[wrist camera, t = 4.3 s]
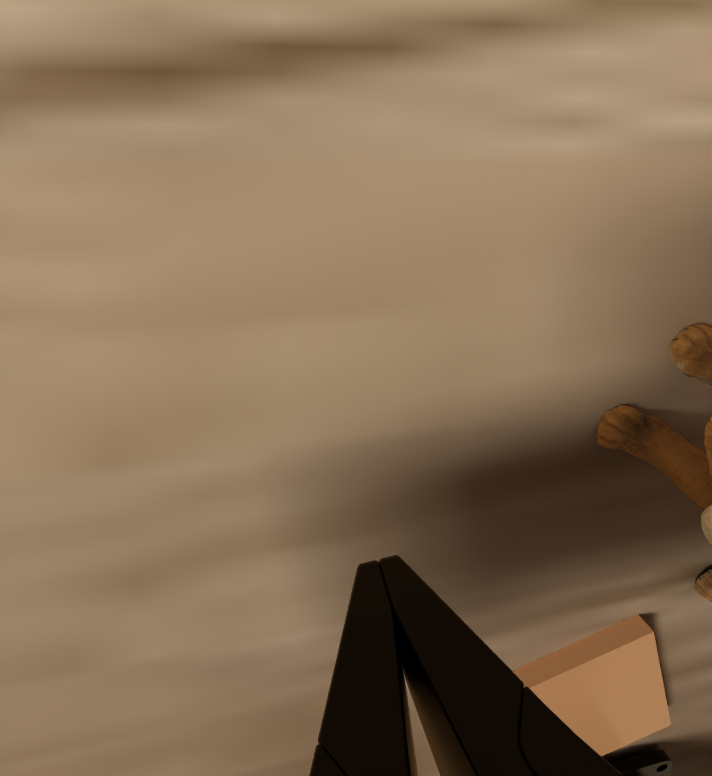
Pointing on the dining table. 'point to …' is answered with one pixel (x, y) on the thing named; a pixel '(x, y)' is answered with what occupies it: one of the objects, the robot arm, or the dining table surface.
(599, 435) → the lion figurine
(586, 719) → the terracotta tile
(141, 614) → the dining table surface
